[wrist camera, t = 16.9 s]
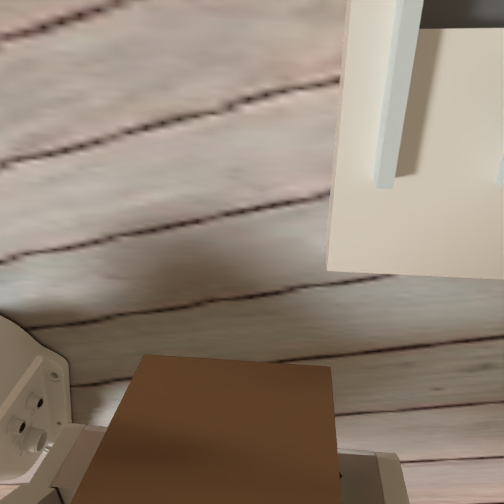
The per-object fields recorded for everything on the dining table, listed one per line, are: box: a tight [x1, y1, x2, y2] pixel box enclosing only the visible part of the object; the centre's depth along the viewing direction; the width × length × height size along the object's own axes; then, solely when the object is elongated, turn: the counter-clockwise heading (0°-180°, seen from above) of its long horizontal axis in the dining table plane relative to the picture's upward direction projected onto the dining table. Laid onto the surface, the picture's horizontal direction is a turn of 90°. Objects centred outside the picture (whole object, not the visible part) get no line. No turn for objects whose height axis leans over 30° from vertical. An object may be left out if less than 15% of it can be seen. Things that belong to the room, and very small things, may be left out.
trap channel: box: [325, 0, 504, 280], centre depth 25 cm, size 25×14×5 cm, turn 1°
